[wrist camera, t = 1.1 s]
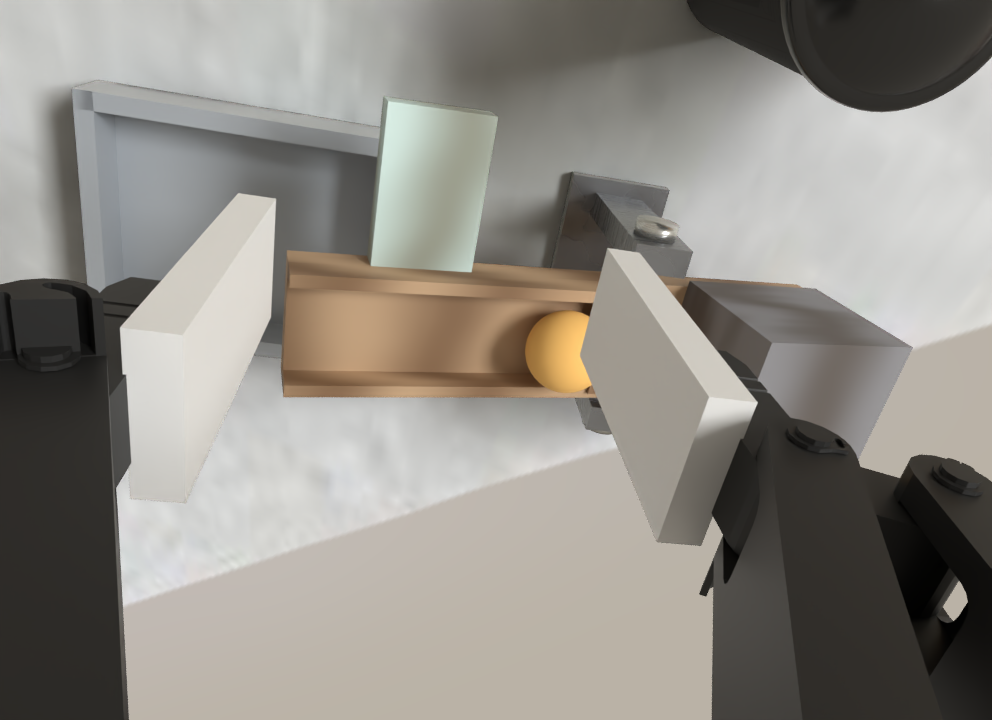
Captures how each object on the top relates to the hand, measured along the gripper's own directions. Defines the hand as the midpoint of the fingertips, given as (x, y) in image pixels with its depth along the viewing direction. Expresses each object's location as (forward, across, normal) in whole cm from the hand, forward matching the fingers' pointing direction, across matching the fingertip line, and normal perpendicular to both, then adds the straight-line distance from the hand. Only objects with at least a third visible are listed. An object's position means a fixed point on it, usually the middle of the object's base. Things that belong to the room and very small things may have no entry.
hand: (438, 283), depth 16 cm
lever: (+14, +7, -4) cm, 16 cm away
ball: (+11, +6, -6) cm, 14 cm away
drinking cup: (+21, +13, +8) cm, 26 cm away
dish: (+21, -8, -6) cm, 24 cm away
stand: (+21, +10, -6) cm, 24 cm away
